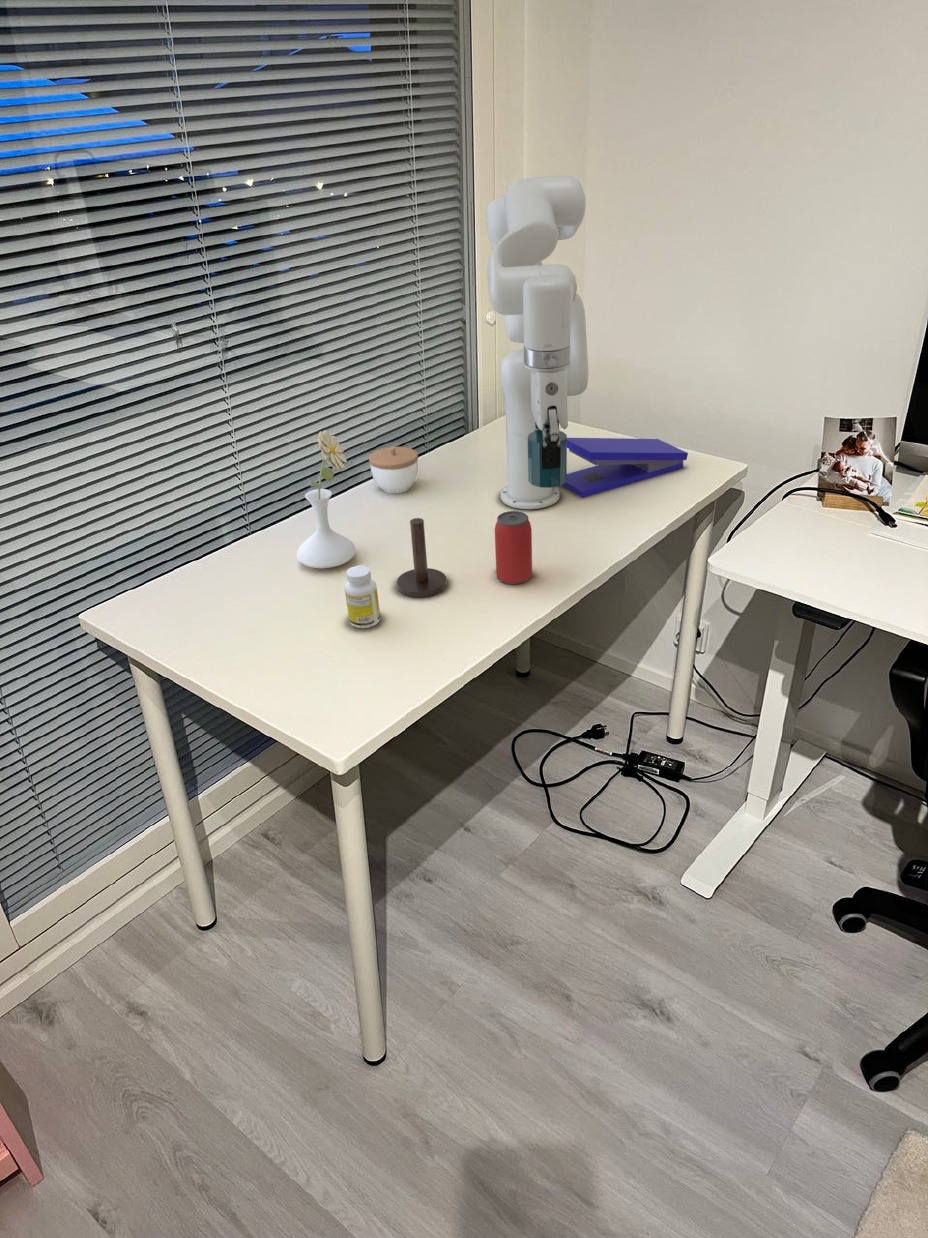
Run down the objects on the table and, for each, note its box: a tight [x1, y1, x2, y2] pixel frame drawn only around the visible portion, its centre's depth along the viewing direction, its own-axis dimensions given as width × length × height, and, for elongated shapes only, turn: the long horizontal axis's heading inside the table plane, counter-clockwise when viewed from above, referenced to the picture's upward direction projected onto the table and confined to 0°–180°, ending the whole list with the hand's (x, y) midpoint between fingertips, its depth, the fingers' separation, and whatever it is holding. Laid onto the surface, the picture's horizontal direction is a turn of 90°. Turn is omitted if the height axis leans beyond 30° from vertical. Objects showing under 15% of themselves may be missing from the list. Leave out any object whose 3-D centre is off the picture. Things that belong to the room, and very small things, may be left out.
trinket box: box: [368, 446, 419, 495], centre depth 210 cm, size 11×11×9 cm
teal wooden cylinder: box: [528, 430, 568, 488], centre depth 164 cm, size 6×6×8 cm
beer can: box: [494, 510, 533, 585], centre depth 172 cm, size 7×7×12 cm
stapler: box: [561, 437, 689, 498], centre depth 210 cm, size 12×28×10 cm, turn 119°
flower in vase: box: [296, 429, 357, 569], centre depth 179 cm, size 13×11×25 cm
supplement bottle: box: [344, 565, 381, 629], centre depth 162 cm, size 5×5×10 cm
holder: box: [396, 517, 448, 599], centre depth 171 cm, size 9×9×13 cm
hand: (547, 458), depth 164 cm, fingers closed on teal wooden cylinder, 6 cm apart
